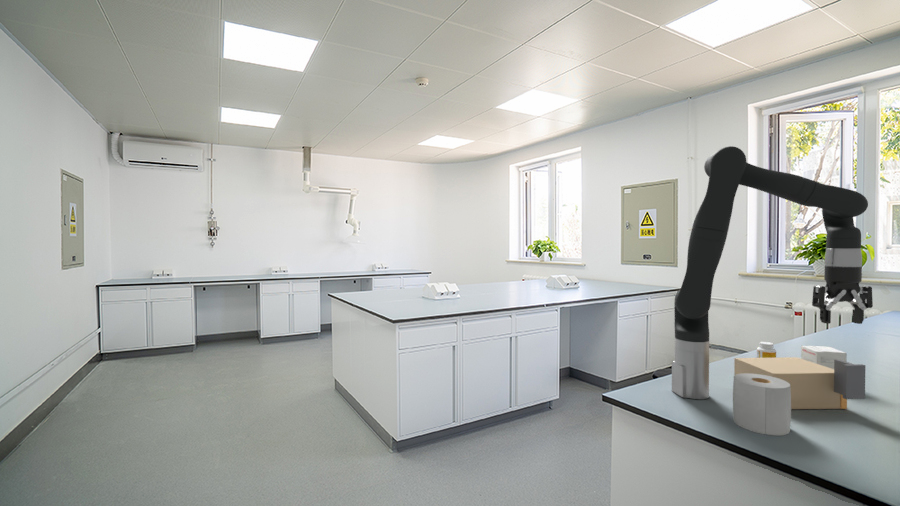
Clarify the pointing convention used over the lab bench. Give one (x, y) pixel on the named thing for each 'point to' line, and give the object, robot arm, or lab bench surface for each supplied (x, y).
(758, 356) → the supplement bottle
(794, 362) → the carton
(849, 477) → the lab bench surface
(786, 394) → the toilet paper roll
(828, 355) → the ink box
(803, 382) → the carton flap
